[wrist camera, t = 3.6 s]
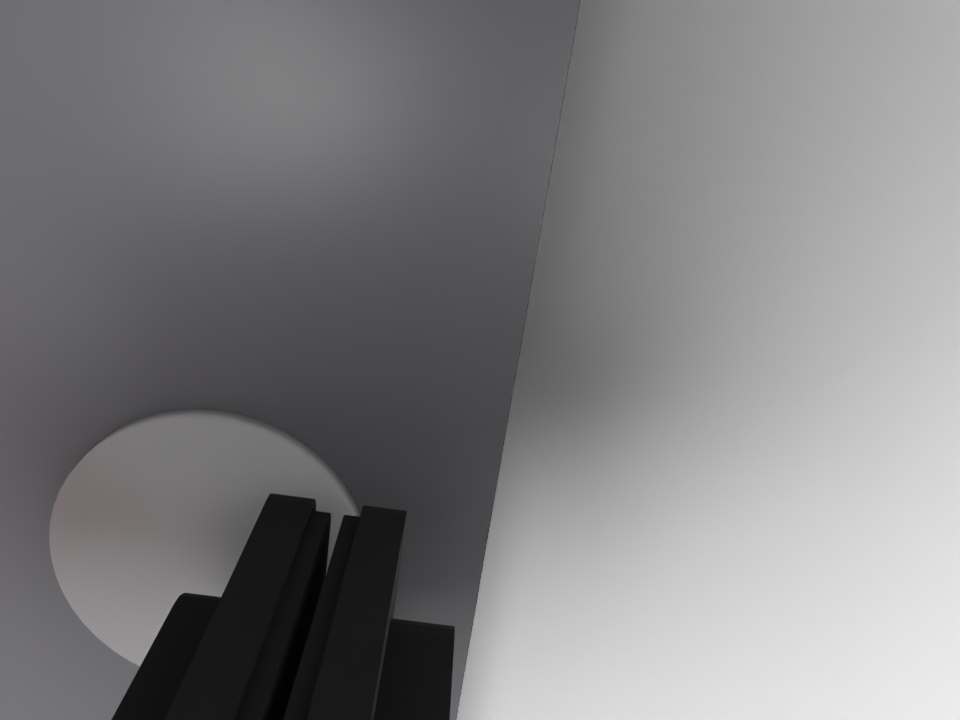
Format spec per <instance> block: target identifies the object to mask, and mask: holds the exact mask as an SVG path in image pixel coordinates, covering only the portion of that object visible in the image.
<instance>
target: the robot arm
mask: <svg viewBox="0 0 960 720" xmlns="http://www.w3.org/2000/svg"><path fill="white" fill-rule="evenodd" d="M406 515H407V511H405V510H397V509H389V508H382V507H374V506H366V505H363V507H362V511H361V514H360V517H359V516H351V515H344V516H343V519H342V522H341V526H340V529H339V533H338V536H337V539H336V543H335V546H334V550H333V553H332V556H331V560H330V563H329V566H328V570H327V573H326V569H327V558H328V547H329V537H330V526H331V513H328V512H320V511H316V500H315V499H312V498H304V497H296V496H289V495H281V494H273V493H271V494H269V496H268V498H267V500H266V502H265V504H264V506H263V508H262V510H261V513H260V515H259V517H258V519H257V521H256V523H255V525H254V528H253V530H252V532H251V534H250V536H249V538H248V541H247V543H246V545H245V547H244V549H243V551H242V553H241V556H240V558H239V560H238V562H237V564H236V566H235V569H234V571H233V573H232V575H231V577H230V579H229V581H228V584H227V586H226V588H225V590H224V592H223V594H222V597H216V596H208V595H200V594H192V593H183V594H181V595H180V596H179V597H178V599H177V600H176V601H175V603H174V605H173V606H172V608H171V610H170V612H169V614H168V616H167V618H166V619H165V621H164V623H163V625H162V627H161V629H160V631H159V632H158V634H157V636H156V638H155V640H154V642H153V644H152V645H151V647H150V649H149V651H148V653H147V655H146V657H145V658H144V660H143V662H142V664H141V666H140V668H139V670H138V671H137V673H136V675H135V677H134V679H133V681H132V682H131V684H130V686H129V688H128V690H127V692H126V694H125V695H124V697H123V699H122V701H121V703H120V705H119V707H118V708H117V710H116V712H115V714H114V716H113V718H112V720H450V705H451V688H452V672H453V655H454V638H455V627H454V626H449V625H441V624H433V623H425V622H417V621H409V620H401V619H393V617H394V609H395V601H396V593H397V586H398V578H399V570H400V562H401V554H402V547H403V539H404V531H405V523H406Z"/></svg>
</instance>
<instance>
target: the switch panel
mask: <svg viewBox="0 0 960 720" xmlns="http://www.w3.org/2000/svg"><path fill="white" fill-rule="evenodd" d="M579 5H580V0H0V720H112V718H113V716H114V714H115V712H116V710H117V708H118V707H119V705H120V703H121V701H122V699H123V697H124V695H125V694H126V692H127V690H128V688H129V686H130V684H131V682H132V681H133V679H134V677H135V675H136V673H137V671H138V670H139V668H140V666H141V664H142V662H143V660H144V658H145V657H146V655H147V653H148V651H149V649H150V647H151V645H152V644H153V642H154V640H155V638H156V636H157V634H158V632H159V631H160V629H161V627H162V625H163V623H164V621H165V619H166V618H167V616H168V614H169V612H170V610H171V608H172V606H173V605H174V603H175V601H176V600H177V599H178V597H179V596H180V595H181V594H183V593H192V594H200V595H208V596H216V597H222V594H223V592H224V590H225V588H226V586H227V584H228V581H229V579H230V577H231V575H232V573H233V571H234V569H235V566H236V564H237V562H238V560H239V558H240V556H241V553H242V551H243V549H244V547H245V545H246V543H247V541H248V538H249V536H250V534H251V532H252V530H253V528H254V525H255V523H256V521H257V519H258V517H259V515H260V513H261V510H262V508H263V506H264V504H265V502H266V500H267V498H268V496H269V494H271V493H273V494H281V495H289V496H296V497H304V498H312V499H315V500H316V511H320V512H328V513H331V526H330V537H329V547H328V558H327V569H326V573H327V570H328V566H329V563H330V560H331V556H332V553H333V550H334V546H335V543H336V539H337V536H338V533H339V529H340V526H341V522H342V519H343V516H344V515H351V516H359V517H360V514H361V511H362V507H363V505H366V506H374V507H382V508H389V509H397V510H405V511H407V515H406V523H405V531H404V539H403V547H402V554H401V562H400V570H399V578H398V586H397V593H396V601H395V609H394V617H393V619H401V620H409V621H417V622H425V623H433V624H441V625H449V626H454V627H455V638H454V655H453V672H452V688H451V705H450V720H456V718H457V712H458V706H459V700H460V694H461V689H462V683H463V677H464V671H465V665H466V660H467V654H468V648H469V642H470V636H471V631H472V625H473V619H474V613H475V608H476V602H477V596H478V590H479V584H480V579H481V573H482V567H483V561H484V555H485V550H486V544H487V538H488V532H489V526H490V521H491V515H492V509H493V503H494V498H495V492H496V486H497V480H498V474H499V469H500V463H501V457H502V451H503V445H504V440H505V434H506V428H507V422H508V416H509V411H510V405H511V399H512V393H513V388H514V382H515V376H516V370H517V364H518V359H519V353H520V347H521V341H522V335H523V330H524V324H525V318H526V312H527V306H528V301H529V295H530V289H531V283H532V277H533V272H534V266H535V260H536V254H537V249H538V243H539V237H540V231H541V225H542V220H543V214H544V208H545V202H546V196H547V191H548V185H549V179H550V173H551V167H552V162H553V156H554V150H555V144H556V139H557V133H558V127H559V121H560V115H561V110H562V104H563V98H564V92H565V86H566V81H567V75H568V69H569V63H570V57H571V52H572V46H573V40H574V34H575V29H576V23H577V17H578V11H579Z"/></svg>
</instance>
